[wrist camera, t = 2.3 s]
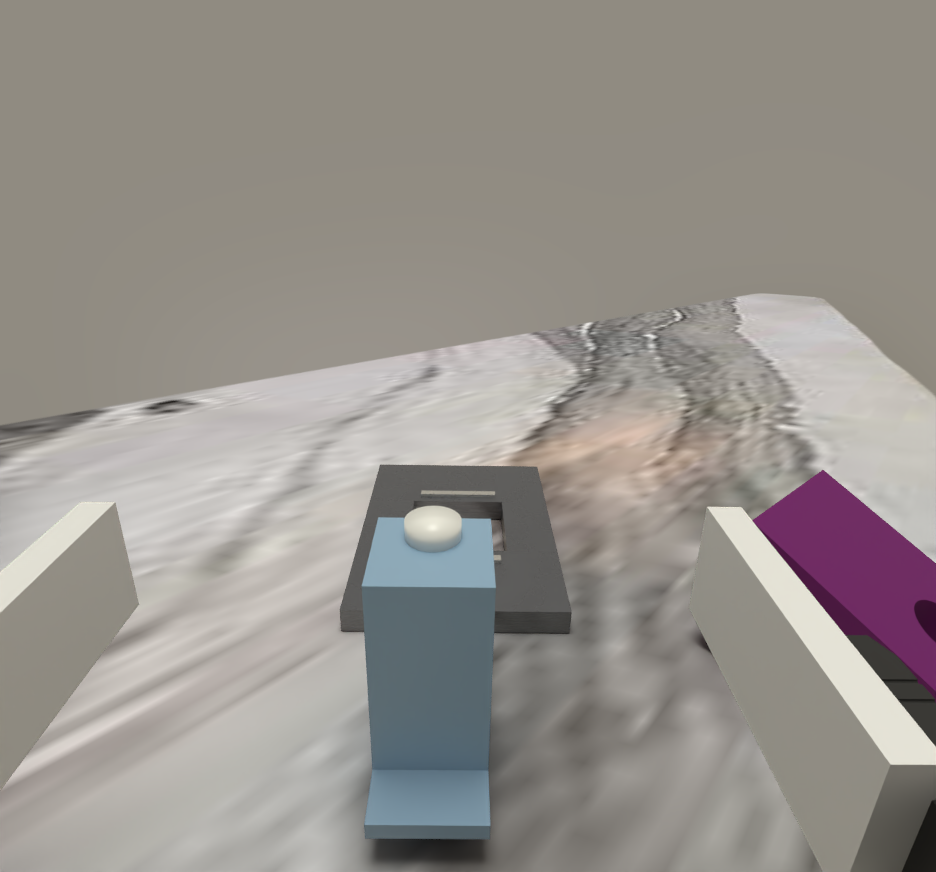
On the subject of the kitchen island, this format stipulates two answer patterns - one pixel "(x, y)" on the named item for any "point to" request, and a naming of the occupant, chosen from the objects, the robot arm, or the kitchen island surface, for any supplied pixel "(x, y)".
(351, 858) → the kitchen island surface
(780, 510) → the mounting bracket
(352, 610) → the plate
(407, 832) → the block
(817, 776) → the robot arm
